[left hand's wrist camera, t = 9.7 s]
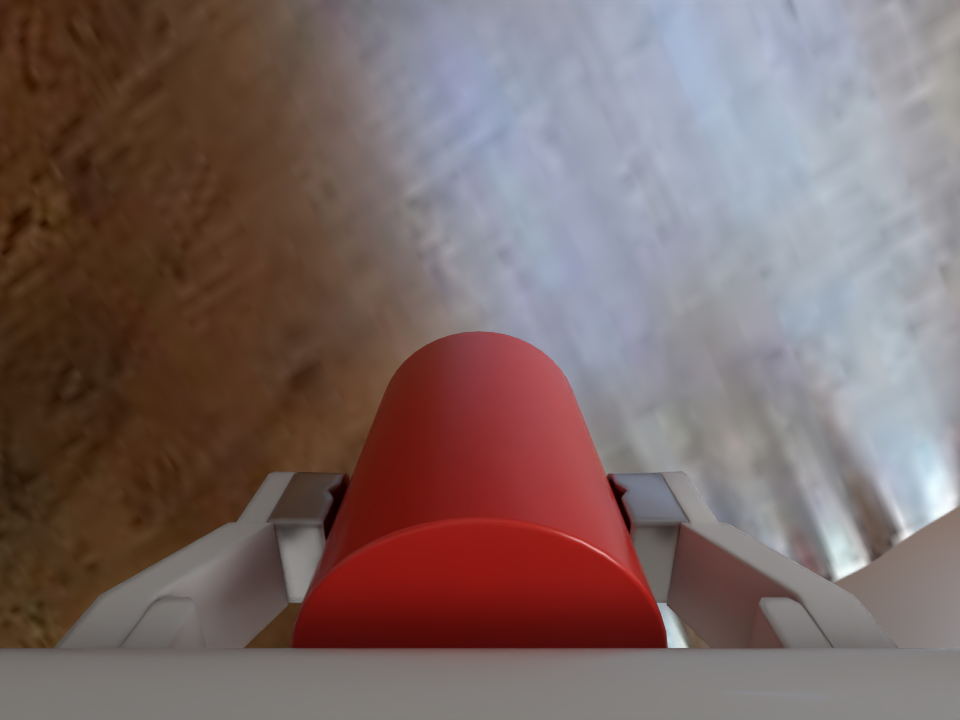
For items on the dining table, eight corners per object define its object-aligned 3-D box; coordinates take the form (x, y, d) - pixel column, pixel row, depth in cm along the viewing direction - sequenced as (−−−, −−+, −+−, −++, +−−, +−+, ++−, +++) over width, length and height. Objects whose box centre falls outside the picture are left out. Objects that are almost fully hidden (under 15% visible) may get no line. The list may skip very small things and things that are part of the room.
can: (457, 289, 12) (432, 443, 6) (618, 406, 14) (751, 646, 7) (343, 440, 14) (220, 700, 7) (497, 534, 15) (511, 832, 9)
